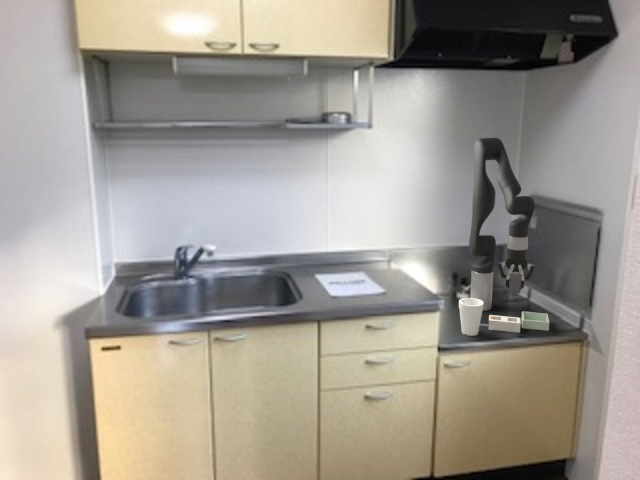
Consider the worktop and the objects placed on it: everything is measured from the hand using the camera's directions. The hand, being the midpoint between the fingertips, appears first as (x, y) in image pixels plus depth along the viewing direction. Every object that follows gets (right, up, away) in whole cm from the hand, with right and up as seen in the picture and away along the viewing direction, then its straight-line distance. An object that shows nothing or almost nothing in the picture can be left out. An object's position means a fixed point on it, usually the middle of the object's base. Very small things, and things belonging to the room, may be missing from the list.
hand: (514, 288), depth 212 cm
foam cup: (-17, -18, +2) cm, 25 cm away
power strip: (-5, -17, +6) cm, 18 cm away
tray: (+11, -16, +8) cm, 21 cm away
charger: (0, -3, +1) cm, 3 cm away
